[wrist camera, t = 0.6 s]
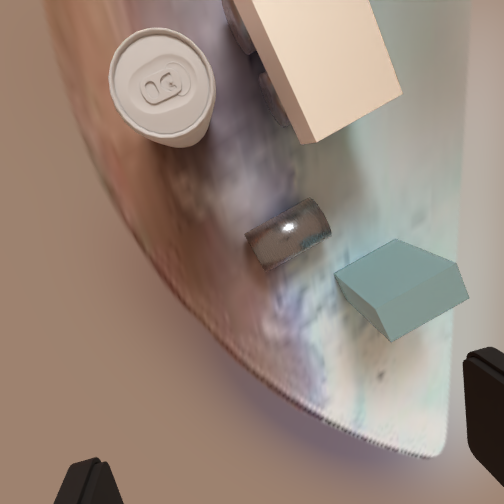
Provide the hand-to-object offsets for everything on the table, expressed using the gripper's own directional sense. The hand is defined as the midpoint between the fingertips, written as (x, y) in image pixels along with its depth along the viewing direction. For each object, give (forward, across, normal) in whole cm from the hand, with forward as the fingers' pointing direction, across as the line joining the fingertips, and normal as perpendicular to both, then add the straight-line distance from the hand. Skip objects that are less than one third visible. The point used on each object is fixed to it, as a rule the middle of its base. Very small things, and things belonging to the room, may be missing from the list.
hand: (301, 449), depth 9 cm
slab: (+18, -8, -14) cm, 24 cm away
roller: (+22, -5, -1) cm, 23 cm away
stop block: (+22, -12, +5) cm, 26 cm away
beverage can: (+22, +1, -11) cm, 25 cm away
